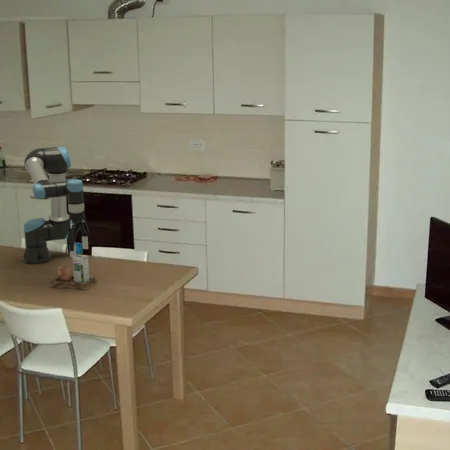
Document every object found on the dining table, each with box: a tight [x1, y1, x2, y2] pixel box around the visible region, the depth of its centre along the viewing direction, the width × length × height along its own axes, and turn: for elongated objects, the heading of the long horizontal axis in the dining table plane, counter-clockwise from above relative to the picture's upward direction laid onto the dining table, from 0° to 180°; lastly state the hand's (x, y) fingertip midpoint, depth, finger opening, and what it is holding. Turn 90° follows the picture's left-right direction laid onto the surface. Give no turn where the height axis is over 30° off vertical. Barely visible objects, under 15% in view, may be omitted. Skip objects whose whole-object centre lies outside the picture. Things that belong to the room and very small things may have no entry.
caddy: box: [49, 265, 98, 291], centre depth 350 cm, size 20×12×9 cm, turn 75°
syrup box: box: [72, 254, 90, 283], centre depth 348 cm, size 6×6×14 cm
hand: (79, 252), depth 346 cm, fingers open, 13 cm apart
